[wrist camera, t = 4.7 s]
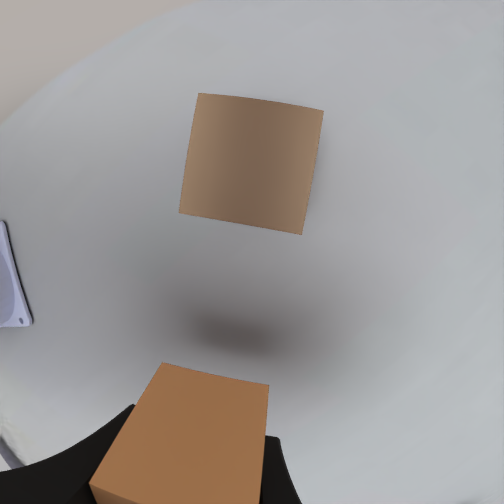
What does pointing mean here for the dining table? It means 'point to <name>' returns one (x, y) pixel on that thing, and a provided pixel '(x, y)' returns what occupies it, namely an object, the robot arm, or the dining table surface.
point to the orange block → (188, 443)
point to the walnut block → (251, 162)
